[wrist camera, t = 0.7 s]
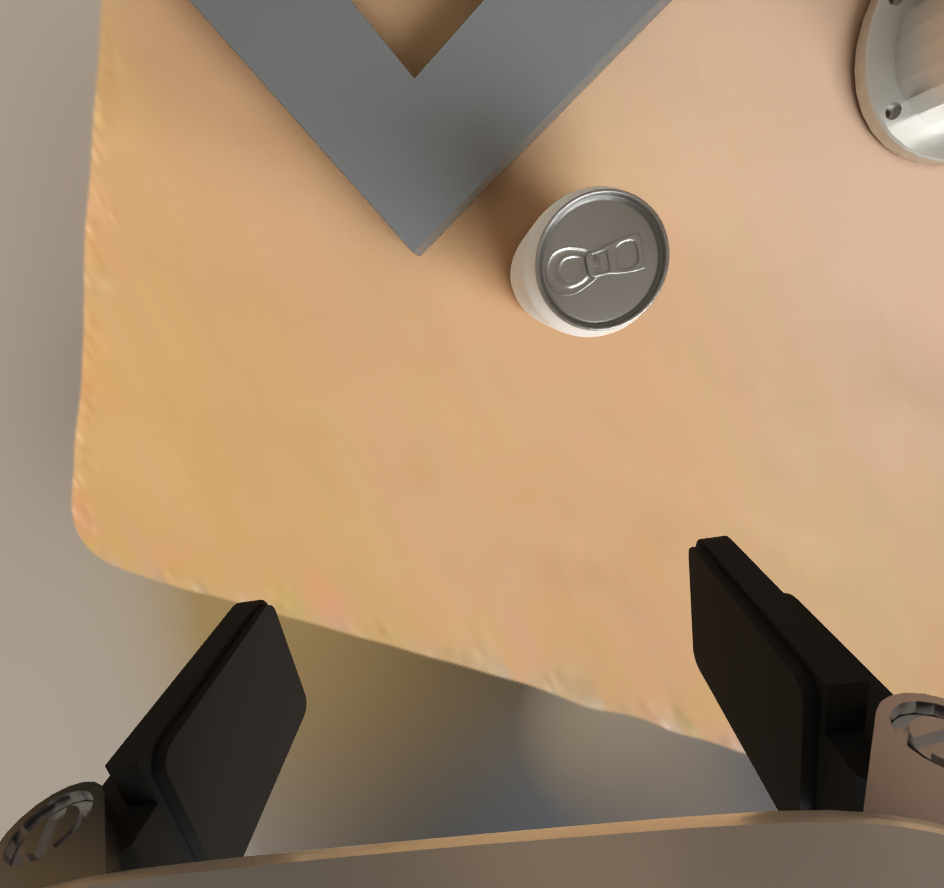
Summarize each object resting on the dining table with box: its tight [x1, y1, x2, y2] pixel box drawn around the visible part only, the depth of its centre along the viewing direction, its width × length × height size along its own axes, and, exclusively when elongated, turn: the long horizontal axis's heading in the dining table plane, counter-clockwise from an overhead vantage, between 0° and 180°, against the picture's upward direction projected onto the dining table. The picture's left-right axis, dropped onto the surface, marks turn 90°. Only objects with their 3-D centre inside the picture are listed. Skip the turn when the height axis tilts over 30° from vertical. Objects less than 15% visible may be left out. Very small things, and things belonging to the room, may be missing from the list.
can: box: [510, 186, 669, 337], centre depth 26 cm, size 6×6×12 cm
